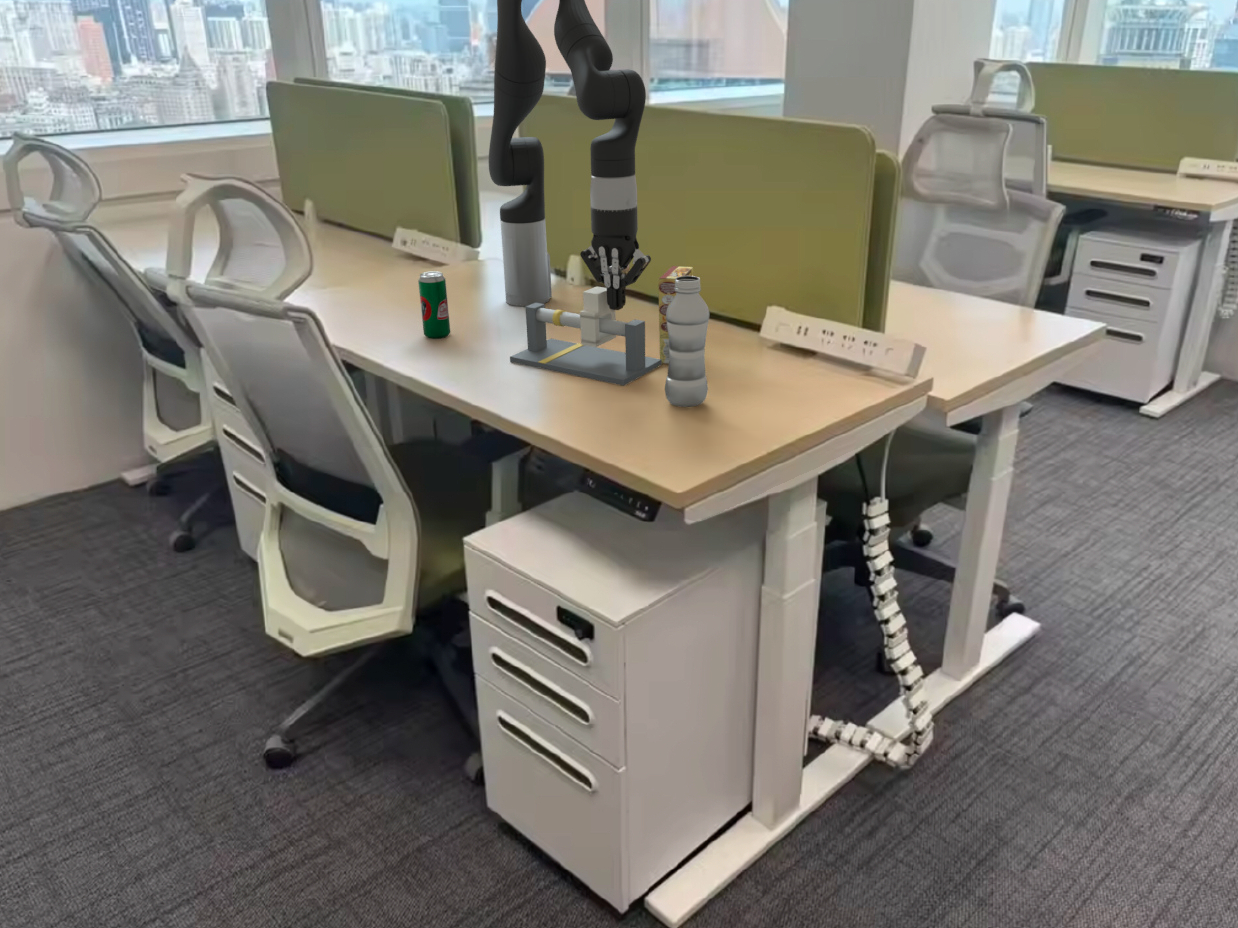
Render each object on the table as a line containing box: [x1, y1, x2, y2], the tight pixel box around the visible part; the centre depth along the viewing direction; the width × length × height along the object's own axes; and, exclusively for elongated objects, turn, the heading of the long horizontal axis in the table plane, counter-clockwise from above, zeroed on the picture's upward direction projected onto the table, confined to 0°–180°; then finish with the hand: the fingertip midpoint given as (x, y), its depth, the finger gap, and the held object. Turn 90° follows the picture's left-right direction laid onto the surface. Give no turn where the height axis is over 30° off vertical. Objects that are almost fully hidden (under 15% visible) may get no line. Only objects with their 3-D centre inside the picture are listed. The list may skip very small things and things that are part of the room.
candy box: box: [657, 265, 694, 365], centre depth 175 cm, size 9×4×15 cm, turn 162°
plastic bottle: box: [664, 275, 711, 408], centre depth 153 cm, size 6×7×20 cm
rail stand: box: [509, 303, 662, 387], centre depth 174 cm, size 12×24×9 cm, turn 57°
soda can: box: [417, 270, 451, 340], centre depth 190 cm, size 5×5×12 cm
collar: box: [579, 286, 617, 347], centre depth 170 cm, size 6×3×9 cm, turn 147°
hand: (616, 308), depth 168 cm, fingers closed
